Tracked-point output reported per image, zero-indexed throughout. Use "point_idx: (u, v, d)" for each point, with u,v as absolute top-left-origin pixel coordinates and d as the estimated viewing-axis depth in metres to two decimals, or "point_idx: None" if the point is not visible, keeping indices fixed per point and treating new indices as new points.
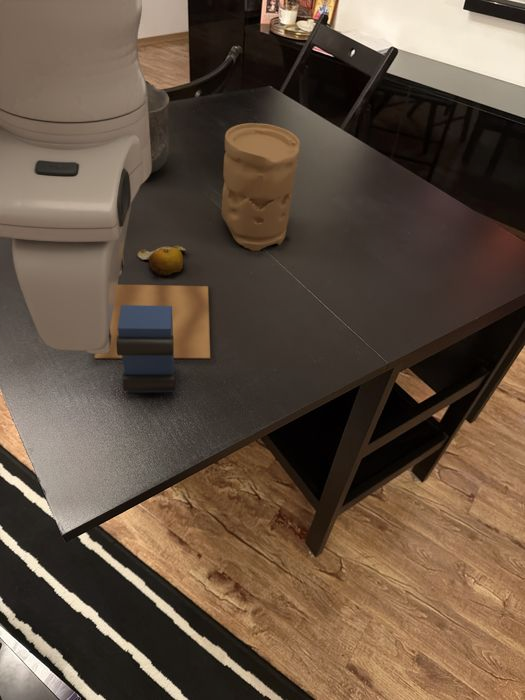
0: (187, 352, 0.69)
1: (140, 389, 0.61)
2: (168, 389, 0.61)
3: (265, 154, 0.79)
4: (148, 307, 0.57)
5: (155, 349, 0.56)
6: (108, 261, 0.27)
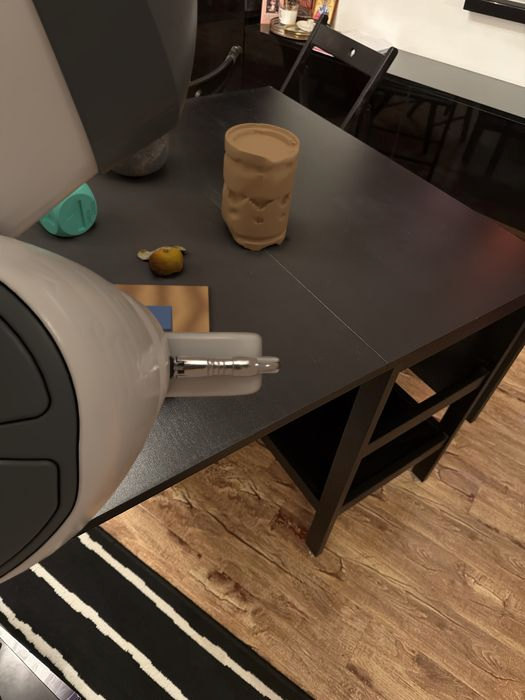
0: None
1: None
2: None
3: (265, 154, 0.79)
4: (148, 307, 0.57)
5: None
6: None
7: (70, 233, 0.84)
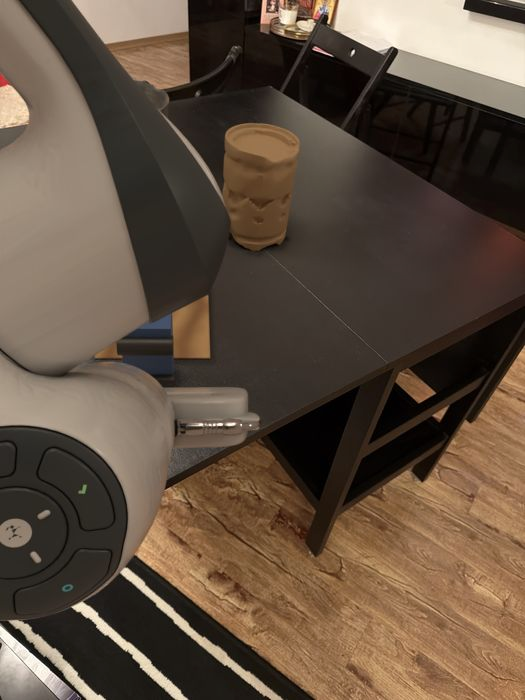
0: (187, 352, 0.69)
1: None
2: None
3: (265, 154, 0.79)
4: None
5: (155, 349, 0.56)
6: None
7: None
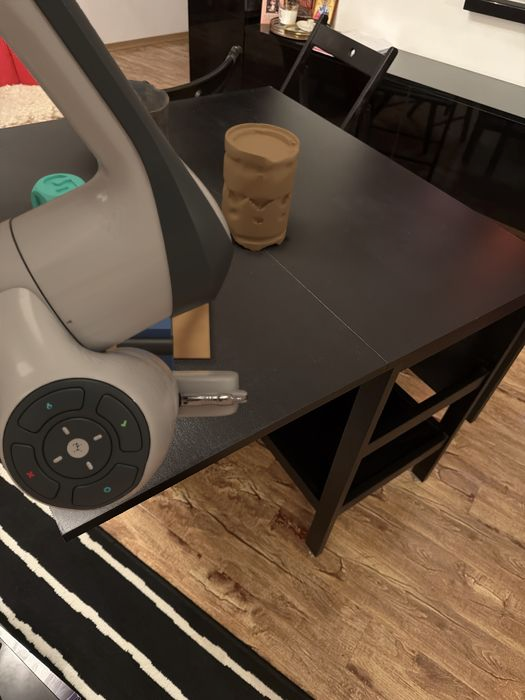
0: (187, 352, 0.69)
1: None
2: None
3: (265, 154, 0.79)
4: None
5: (155, 349, 0.56)
6: None
7: None
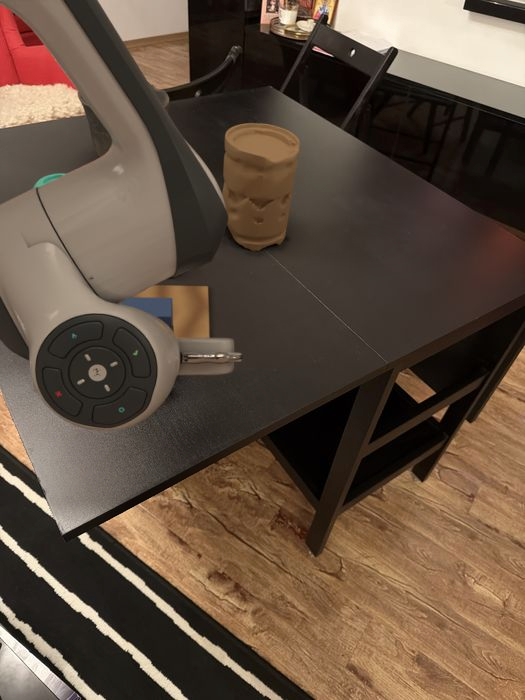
0: None
1: None
2: None
3: (265, 154, 0.79)
4: (149, 299, 0.59)
5: None
6: None
7: None
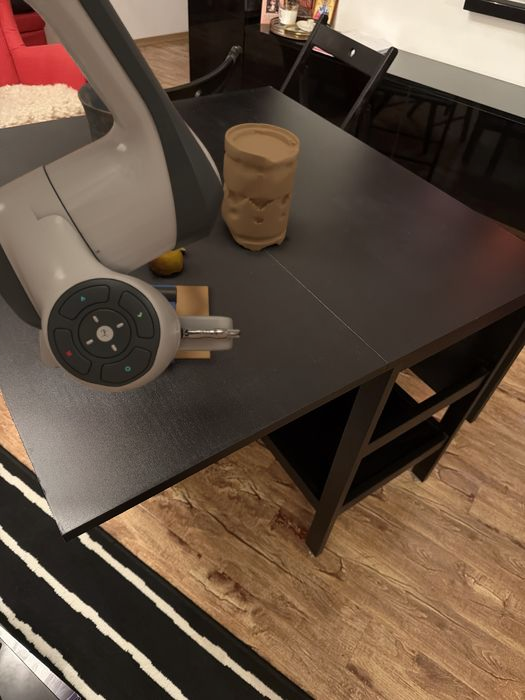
0: (187, 352, 0.69)
1: None
2: None
3: (265, 154, 0.79)
4: None
5: (162, 287, 0.68)
6: None
7: None
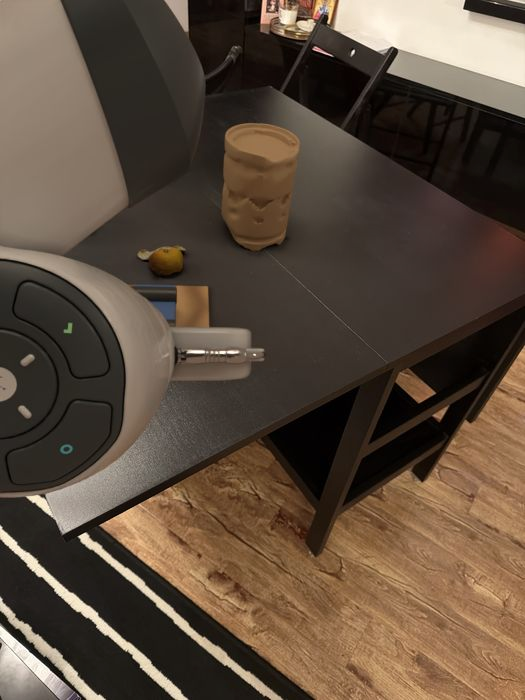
0: None
1: None
2: (169, 323, 0.64)
3: (265, 154, 0.79)
4: None
5: (162, 287, 0.68)
6: None
7: None
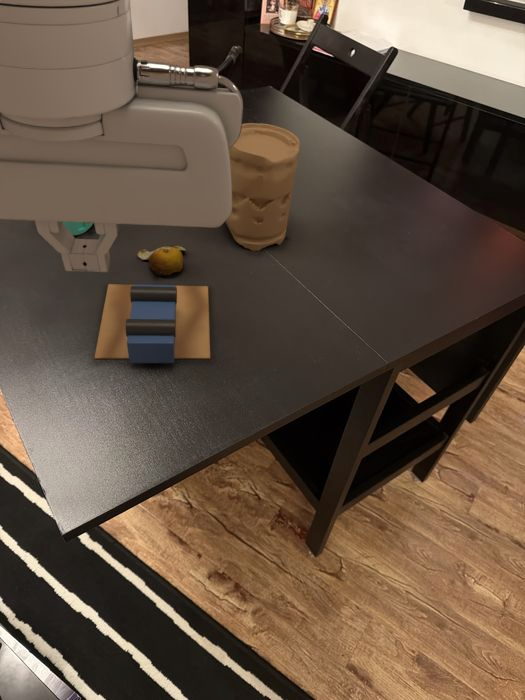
0: (187, 352, 0.69)
1: (142, 322, 0.63)
2: (169, 323, 0.64)
3: (265, 154, 0.79)
4: None
5: (162, 287, 0.68)
6: None
7: None
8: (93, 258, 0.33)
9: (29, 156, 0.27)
